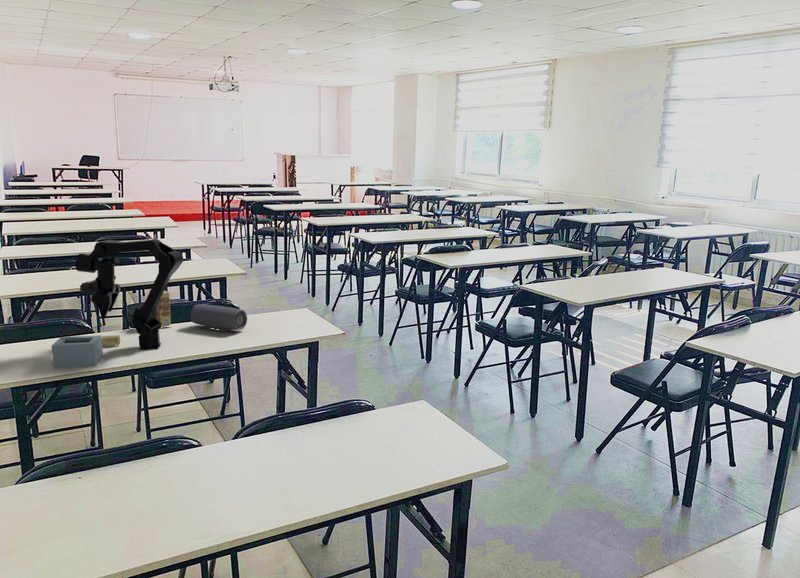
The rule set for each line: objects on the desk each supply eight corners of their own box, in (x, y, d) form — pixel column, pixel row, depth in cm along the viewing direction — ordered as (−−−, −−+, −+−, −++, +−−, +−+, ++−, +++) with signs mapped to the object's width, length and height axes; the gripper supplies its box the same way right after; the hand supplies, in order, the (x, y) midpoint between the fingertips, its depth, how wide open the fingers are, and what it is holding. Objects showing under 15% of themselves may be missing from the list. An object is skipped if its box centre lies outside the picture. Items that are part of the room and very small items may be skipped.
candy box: (172, 327, 254) (169, 292, 251) (161, 328, 252) (159, 293, 248) (165, 322, 261) (162, 288, 258) (154, 324, 258) (152, 289, 255)
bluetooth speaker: (248, 329, 253) (247, 306, 250) (234, 335, 244) (233, 311, 242) (205, 323, 261) (203, 301, 259) (190, 328, 252) (188, 305, 250)
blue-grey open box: (103, 356, 216) (101, 335, 214) (95, 365, 207) (93, 343, 205) (63, 358, 213) (61, 337, 212) (54, 368, 204) (51, 345, 202)
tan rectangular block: (120, 343, 232) (119, 335, 231) (118, 346, 228) (117, 337, 228) (103, 344, 230) (102, 335, 230) (101, 347, 227) (100, 338, 226)
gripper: (89, 268, 230) (89, 307, 234) (74, 278, 212) (75, 321, 216) (120, 269, 233) (120, 308, 236) (108, 280, 215) (109, 322, 218)
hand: (106, 314), depth 227 cm, fingers open, 9 cm apart
